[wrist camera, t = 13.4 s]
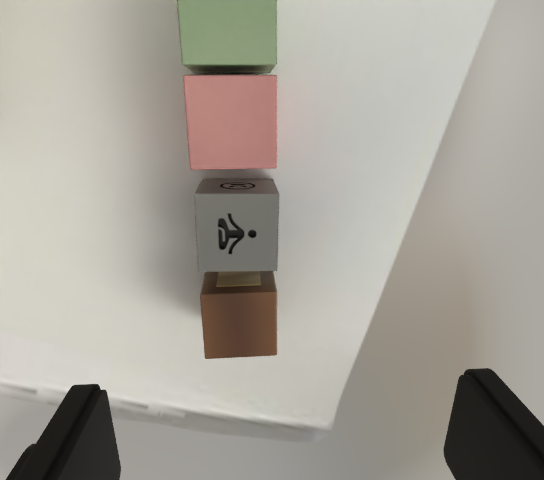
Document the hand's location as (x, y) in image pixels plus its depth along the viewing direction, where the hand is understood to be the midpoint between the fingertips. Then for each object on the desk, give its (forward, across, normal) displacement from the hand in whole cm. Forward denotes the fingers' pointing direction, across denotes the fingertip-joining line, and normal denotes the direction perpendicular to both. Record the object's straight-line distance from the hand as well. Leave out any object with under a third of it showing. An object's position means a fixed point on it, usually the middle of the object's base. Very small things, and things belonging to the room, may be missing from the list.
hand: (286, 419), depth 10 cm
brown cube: (+19, +2, +6) cm, 20 cm away
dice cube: (+19, +2, 0) cm, 19 cm away
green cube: (+19, +2, -12) cm, 23 cm away
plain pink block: (+19, +2, -7) cm, 20 cm away
